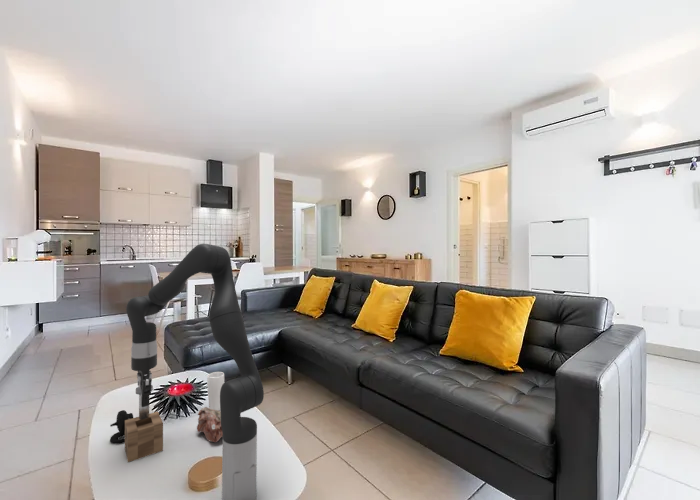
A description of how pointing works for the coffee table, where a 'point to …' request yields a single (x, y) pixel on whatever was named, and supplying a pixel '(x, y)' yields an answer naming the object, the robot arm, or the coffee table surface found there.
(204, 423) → the rock
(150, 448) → the block
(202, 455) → the coffee table surface
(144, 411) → the pin
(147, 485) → the coffee table surface
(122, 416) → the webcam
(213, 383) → the drinking glass
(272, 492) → the coffee table surface
